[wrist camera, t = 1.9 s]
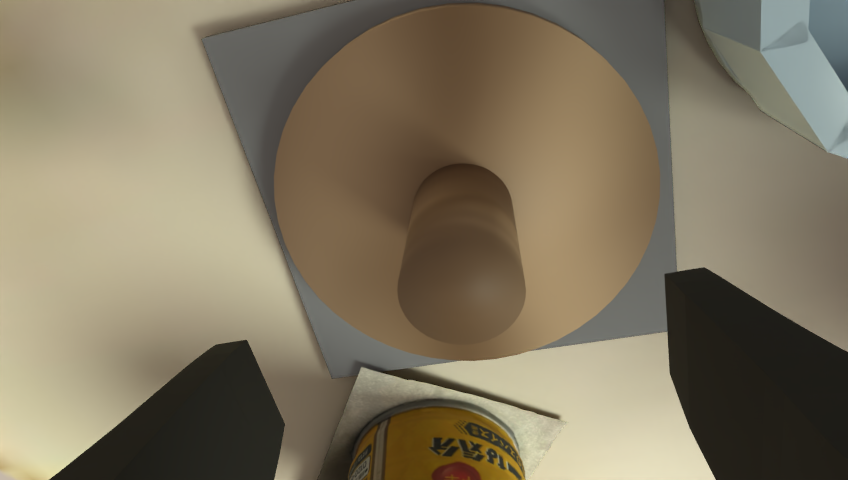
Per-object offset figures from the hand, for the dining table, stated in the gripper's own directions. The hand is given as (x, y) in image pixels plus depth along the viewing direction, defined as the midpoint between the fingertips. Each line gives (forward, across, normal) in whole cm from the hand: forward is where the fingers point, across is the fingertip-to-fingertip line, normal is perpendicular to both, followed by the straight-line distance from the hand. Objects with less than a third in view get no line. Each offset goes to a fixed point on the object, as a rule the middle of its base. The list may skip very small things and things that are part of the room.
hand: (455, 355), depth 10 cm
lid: (+7, 0, 0) cm, 7 cm away
